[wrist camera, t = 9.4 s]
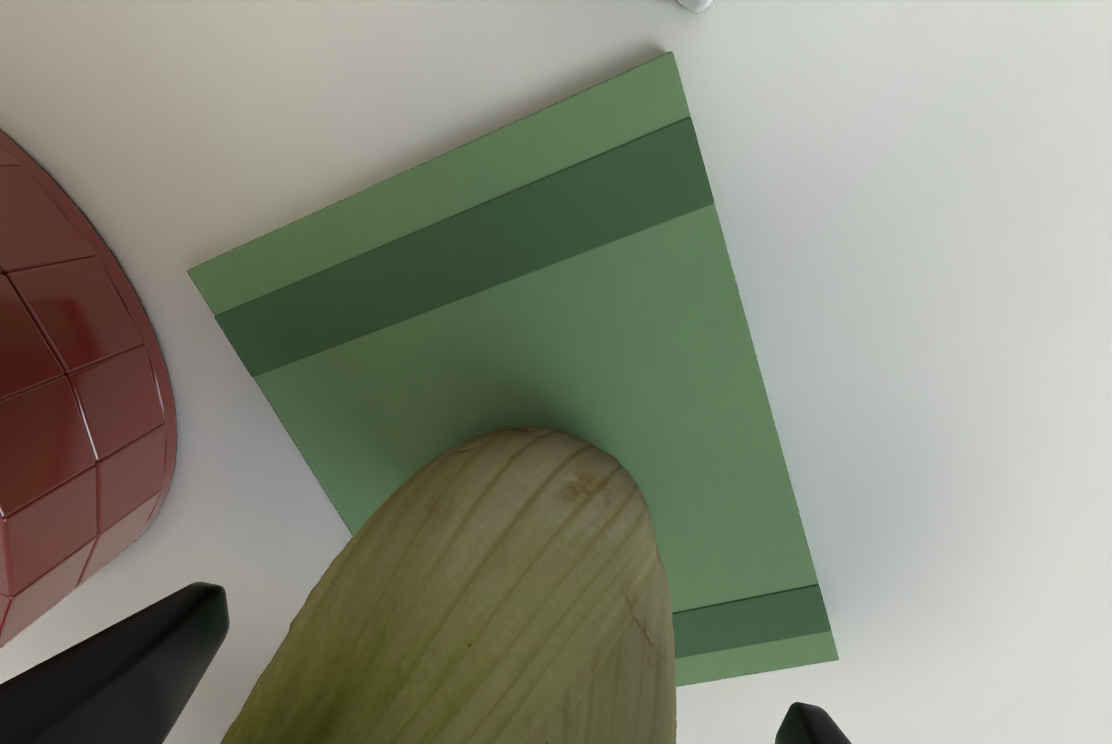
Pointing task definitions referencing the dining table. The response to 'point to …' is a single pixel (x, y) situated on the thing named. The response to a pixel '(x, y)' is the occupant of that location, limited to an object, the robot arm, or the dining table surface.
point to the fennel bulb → (484, 611)
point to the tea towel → (546, 347)
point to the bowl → (70, 399)
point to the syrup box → (695, 4)
